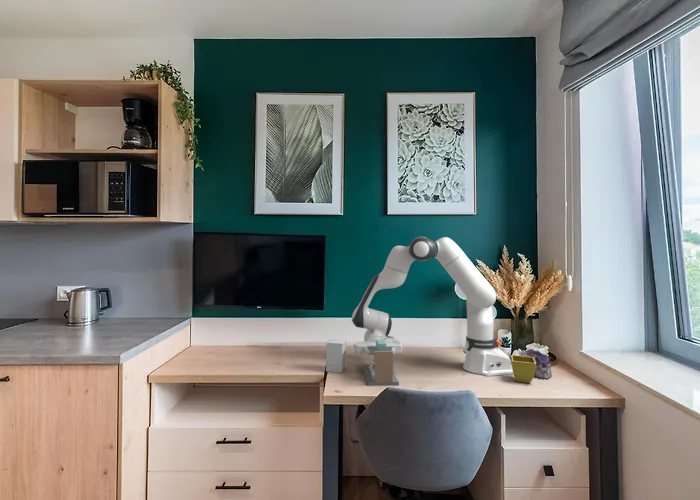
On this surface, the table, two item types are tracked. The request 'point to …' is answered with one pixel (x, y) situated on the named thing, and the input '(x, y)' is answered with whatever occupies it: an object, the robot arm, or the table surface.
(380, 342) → the teal rectangular block
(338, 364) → the supplement box
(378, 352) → the track base
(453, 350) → the table surface
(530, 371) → the flower pot
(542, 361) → the geode
